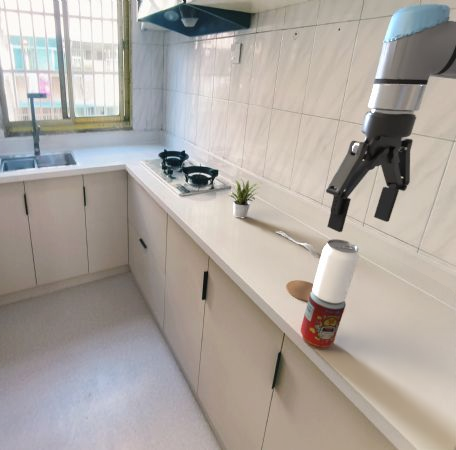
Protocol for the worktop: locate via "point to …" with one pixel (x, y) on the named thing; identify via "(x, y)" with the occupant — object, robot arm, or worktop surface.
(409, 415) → the worktop surface
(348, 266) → the can
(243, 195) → the house plant
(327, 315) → the soda can
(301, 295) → the cork coaster
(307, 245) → the fork
